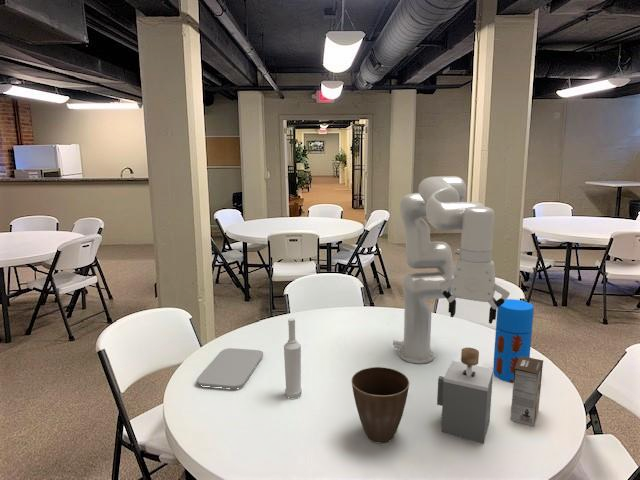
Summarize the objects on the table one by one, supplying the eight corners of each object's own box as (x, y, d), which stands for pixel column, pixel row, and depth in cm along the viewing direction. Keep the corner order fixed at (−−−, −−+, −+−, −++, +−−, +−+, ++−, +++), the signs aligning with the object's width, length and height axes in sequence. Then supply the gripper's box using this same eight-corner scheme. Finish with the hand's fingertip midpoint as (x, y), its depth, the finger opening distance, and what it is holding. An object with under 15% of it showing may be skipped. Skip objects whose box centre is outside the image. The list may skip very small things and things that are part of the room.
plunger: (449, 418, 123) (452, 354, 119) (455, 404, 130) (458, 343, 126) (478, 426, 119) (483, 360, 116) (483, 411, 126) (487, 348, 122)
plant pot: (368, 459, 113) (369, 401, 109) (342, 426, 126) (341, 373, 123) (418, 443, 118) (420, 387, 115) (388, 413, 132) (389, 362, 129)
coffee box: (515, 404, 136) (519, 354, 132) (539, 410, 132) (543, 359, 129) (509, 420, 128) (514, 367, 125) (534, 427, 125) (539, 373, 121)
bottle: (304, 392, 144) (302, 317, 139) (298, 400, 139) (296, 323, 134) (289, 389, 146) (287, 315, 141) (282, 397, 141) (280, 321, 136)
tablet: (193, 388, 148) (193, 382, 147) (224, 353, 173) (224, 347, 172) (241, 393, 145) (241, 386, 144) (265, 356, 170) (265, 350, 169)
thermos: (531, 384, 147) (537, 311, 141) (496, 381, 149) (501, 309, 144) (523, 368, 157) (529, 299, 152) (490, 366, 159) (495, 298, 154)
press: (432, 429, 124) (434, 376, 121) (441, 409, 134) (443, 358, 130) (483, 444, 118) (487, 387, 115) (489, 421, 127) (493, 368, 124)
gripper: (437, 255, 116) (435, 317, 120) (510, 262, 108) (505, 329, 112) (444, 248, 123) (441, 308, 126) (513, 255, 115) (508, 319, 119)
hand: (471, 318), depth 119 cm, fingers open, 9 cm apart
